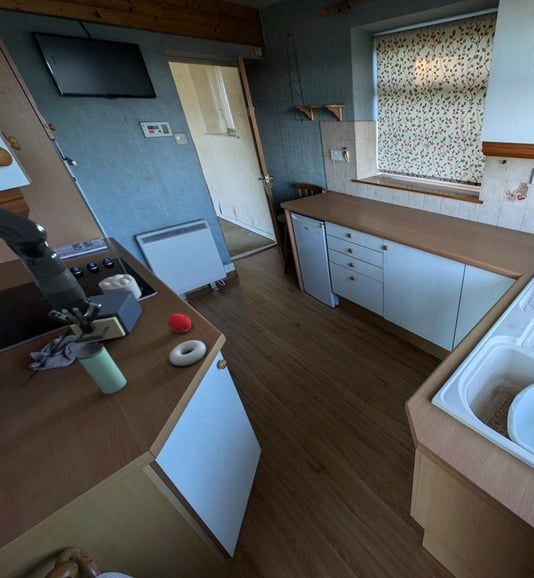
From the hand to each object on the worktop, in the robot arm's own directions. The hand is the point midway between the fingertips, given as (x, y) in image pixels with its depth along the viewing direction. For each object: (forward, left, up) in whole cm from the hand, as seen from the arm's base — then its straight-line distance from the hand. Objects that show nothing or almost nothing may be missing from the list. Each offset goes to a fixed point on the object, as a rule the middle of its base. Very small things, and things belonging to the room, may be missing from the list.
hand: (91, 332), depth 93 cm
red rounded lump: (+23, +2, -7) cm, 24 cm away
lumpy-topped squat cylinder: (-3, +34, -7) cm, 35 cm away
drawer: (0, +7, -6) cm, 9 cm away
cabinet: (0, +13, -7) cm, 14 cm away
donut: (+28, -14, -7) cm, 32 cm away
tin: (+10, -20, -7) cm, 24 cm away
